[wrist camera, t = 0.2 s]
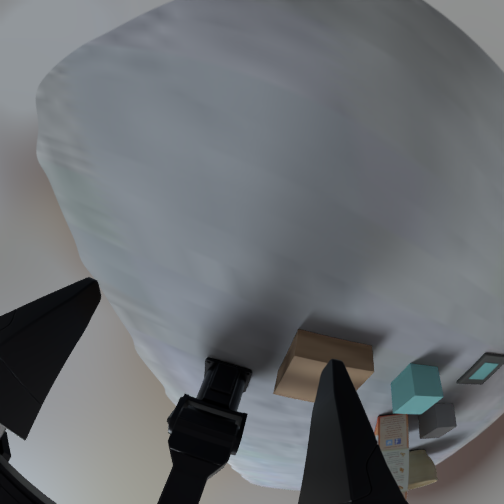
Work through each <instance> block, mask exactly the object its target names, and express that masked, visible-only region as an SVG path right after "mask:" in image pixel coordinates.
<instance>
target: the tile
mask: <svg viewBox="0 0 504 504" xmlns="http://www.w3.org/2000/svg"><path fill="white" fill-rule="evenodd" d="M503 364H504V355H496V354H488V353H485V354H484V355H483V356H482V357H481V358H480V359H479V360H478V361H477V362H476V363H475V364H474V365H473V366H472V367H471V368H470V369H469V370H468V371H467V372H466V373H465V374H464V375H463V376H462V377H461V378H460V379H459V380H458V381H457V384H483V383H484V382H485V381H486V380H487V379H488V378H490V377H491V376H492V375H493V374H494V373H495V372H496V371H497V370H498V369H499V368H500V367H501V366H502V365H503Z"/></svg>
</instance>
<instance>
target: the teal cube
mask: <svg viewBox="0 0 504 504" xmlns="http://www.w3.org/2000/svg"><path fill="white" fill-rule="evenodd" d="M391 392H392V406H393V413H397V414H422V413H423V412H425V411H426V410H427V409H429V408H430V407H431V406H433V405H434V404H435V403H437V402H438V401H439V400H440V399H441V398H443V392H442V386H441V381H440V376H439V372H438V367H435V366H427V365H419V364H412V363H410V364H409V365H408V366H407V367H406V368H405V369H404V370H403V371H402V372H401V373H400V374H399V375H398V376H397V378H396V379H395V380H393V381H392V382H391Z"/></svg>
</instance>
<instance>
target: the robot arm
mask: <svg viewBox="0 0 504 504" xmlns="http://www.w3.org/2000/svg"><path fill="white" fill-rule="evenodd" d="M100 300H101V293H100V288H99V284H98V282H97V280H95V279H92V278H90V277H88V278H85V279H83V280H80V281H78V282H76V283H74V284H71V285H69V286H67V287H64V288H62V289H60V290H57V291H55V292H53V293H50V294H48V295H46V296H44V297H41V298H39V299H37V300H35V301H33V302H30V303H28V304H26V305H24V306H22V307H19V308H17V309H15V310H13V311H11V312H9V313H6V314H4V315H2V316H0V504H56V503H55V502H54V501H52V500H51V499H50V498H48V497H47V496H46V495H45V494H43V493H42V492H41V491H39V490H38V489H37V488H36V487H35V486H33V485H32V484H31V483H30V482H29V481H28V480H27V479H25V478H24V477H23V476H22V475H21V474H20V473H19V472H18V471H17V470H16V469H15V468H13V467H12V466H11V465H10V464H9V463H8V461H9V459H10V457H11V453H10V448H9V443H8V438H7V432H6V431H5V430H6V428H7V429H9V430H10V431H11V432H13V433H14V434H16V435H17V436H19V437H20V438H22V439H23V440H26V438H27V436H28V434H29V432H30V429H31V427H32V425H33V423H34V420H35V419H36V417H37V415H38V413H39V410H40V408H41V406H42V404H43V402H44V400H45V398H46V396H47V395H48V393H49V391H50V389H51V387H52V385H53V383H54V381H55V380H56V378H57V376H58V374H59V373H60V371H61V369H62V367H63V366H64V364H65V362H66V360H67V359H68V357H69V355H70V354H71V352H72V350H73V349H74V347H75V345H76V343H77V342H78V341H79V339H80V337H81V336H82V334H83V333H84V331H85V329H86V327H87V325H88V323H89V321H90V319H91V317H92V315H93V313H94V312H95V310H96V308H97V306H98V304H99V302H100ZM251 374H252V371H251V370H248V369H245V368H241V367H238V366H234V365H231V364H227V363H224V362H221V361H218V360H215V359H212V358H206V361H205V375H204V380H203V383H202V385H201V388H200V390H199V393H198V395H197V398H194V397H191V396H189V395H187V394H184V396H183V397H180V399H179V402H178V404H177V406H176V408H175V409H174V411H173V412H172V413H171V415H170V416H169V417H168V419H167V422H168V424H169V426H168V433H169V434H170V437H169V440H168V444H169V449H170V454H171V458H172V462H173V467H172V470H171V472H170V475H169V477H168V479H167V482H166V484H165V486H164V489H163V491H162V494H161V496H160V498H159V501H158V503H157V504H199V501H200V498H201V495H202V492H203V490H204V486H205V484H206V481H207V480H208V479H209V478H210V477H212V476H213V475H215V474H216V473H217V472H218V471H220V470H221V469H222V468H224V466H225V465H226V463H227V462H228V460H229V457H230V454H231V455H236V453H237V450H238V448H239V445H240V442H241V438H242V434H243V430H244V426H245V422H246V418H247V413H241V412H237V409H238V406H239V403H240V400H241V396H242V393H243V392H245V391H246V388H247V386H248V383H249V380H250V377H251ZM298 504H408V502H407V501H406V499H405V498H404V496H403V494H402V492H401V490H400V488H399V486H398V485H397V483H396V481H395V479H394V477H393V475H392V473H391V471H390V469H389V467H388V465H387V463H386V461H385V458H384V456H383V454H382V451H381V449H380V446H379V444H378V442H377V439H376V437H375V434H374V432H373V429H372V427H371V425H370V422H369V420H368V417H367V415H366V413H365V410H364V408H363V406H362V403H361V401H360V399H359V396H358V394H357V392H356V389H355V387H354V385H353V383H352V380H351V378H350V376H349V374H348V371H347V369H346V367H345V365H344V363H343V361H341V360H338V359H331V360H330V361H329V362H328V364H327V365H326V366H325V368H324V369H323V370H322V372H321V375H320V380H319V385H318V389H317V394H316V398H315V403H314V407H313V412H312V418H311V426H310V434H309V442H308V449H307V456H306V462H305V469H304V475H303V480H302V486H301V491H300V497H299V502H298Z"/></svg>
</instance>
